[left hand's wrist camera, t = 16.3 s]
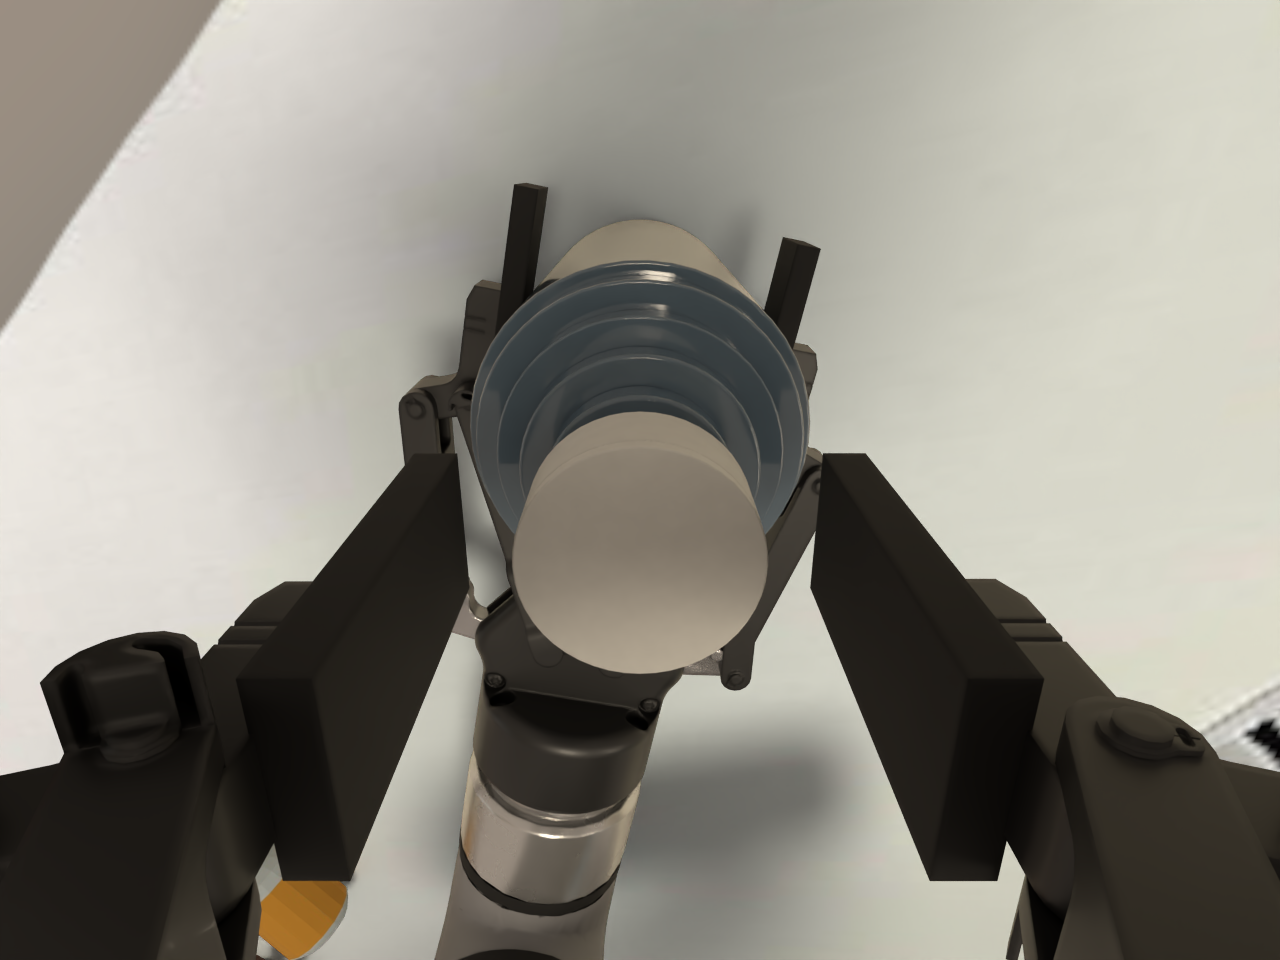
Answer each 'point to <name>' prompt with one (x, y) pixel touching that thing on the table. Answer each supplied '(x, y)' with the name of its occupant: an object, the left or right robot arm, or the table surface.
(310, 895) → the spray gun
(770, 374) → the bottle
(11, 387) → the table surface
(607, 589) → the cap
